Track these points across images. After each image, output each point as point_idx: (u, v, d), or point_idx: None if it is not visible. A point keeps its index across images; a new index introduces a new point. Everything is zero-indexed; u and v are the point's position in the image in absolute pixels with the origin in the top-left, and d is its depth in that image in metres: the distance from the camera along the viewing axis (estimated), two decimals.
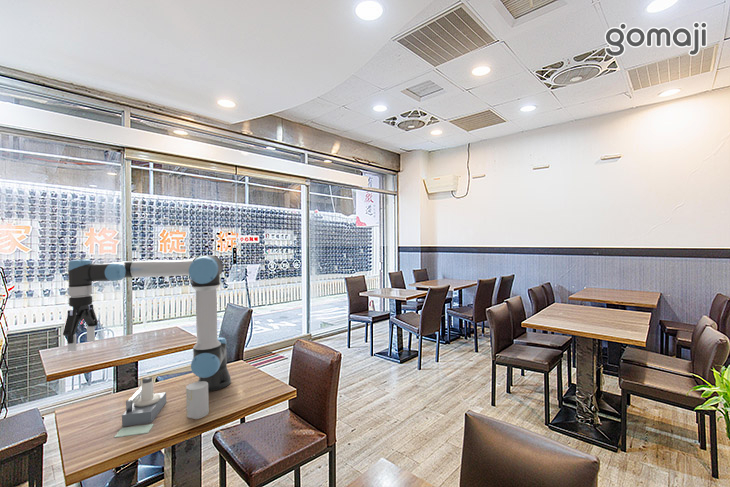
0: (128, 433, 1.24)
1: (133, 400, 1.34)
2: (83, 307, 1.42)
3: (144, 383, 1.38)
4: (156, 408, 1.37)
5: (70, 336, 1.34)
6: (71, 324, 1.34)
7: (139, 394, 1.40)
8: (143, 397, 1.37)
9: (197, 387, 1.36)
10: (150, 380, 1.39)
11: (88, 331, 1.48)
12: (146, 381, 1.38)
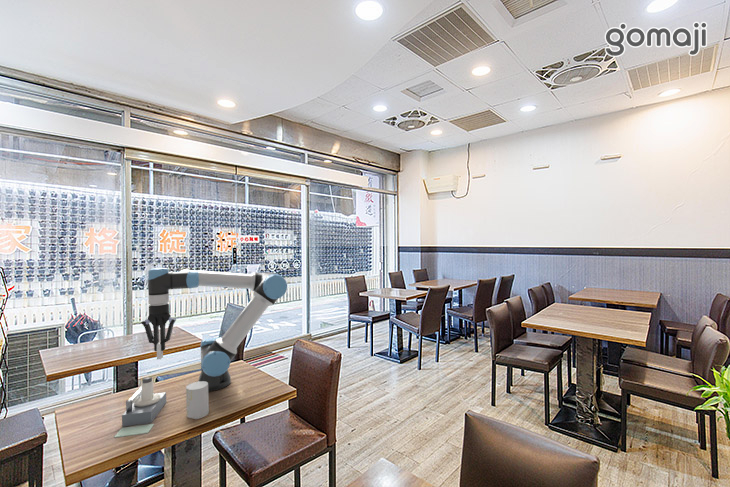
0: (128, 433, 1.24)
1: (133, 400, 1.34)
2: (157, 315, 1.44)
3: (144, 383, 1.38)
4: (156, 408, 1.37)
5: None
6: (147, 334, 1.43)
7: (139, 394, 1.40)
8: (143, 397, 1.37)
9: (196, 387, 1.36)
10: (150, 380, 1.39)
11: None
12: (146, 381, 1.38)
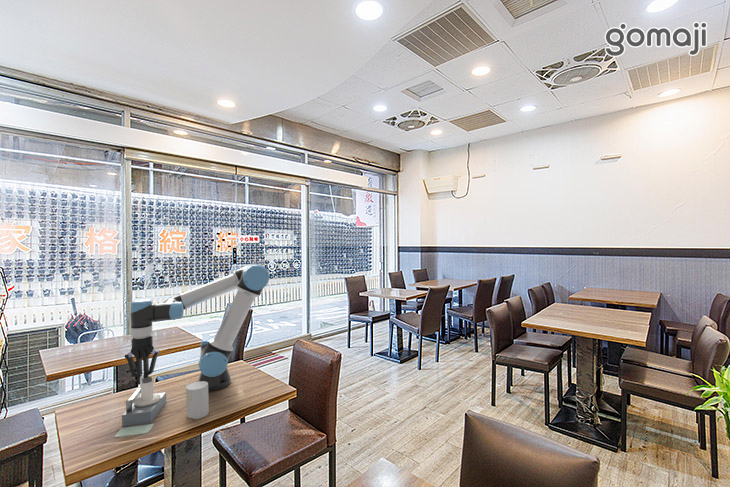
0: (128, 433, 1.24)
1: (133, 400, 1.34)
2: (140, 348, 1.42)
3: (144, 383, 1.38)
4: (156, 408, 1.37)
5: None
6: None
7: (138, 394, 1.40)
8: (143, 397, 1.37)
9: (196, 387, 1.36)
10: (150, 380, 1.39)
11: None
12: (146, 381, 1.38)
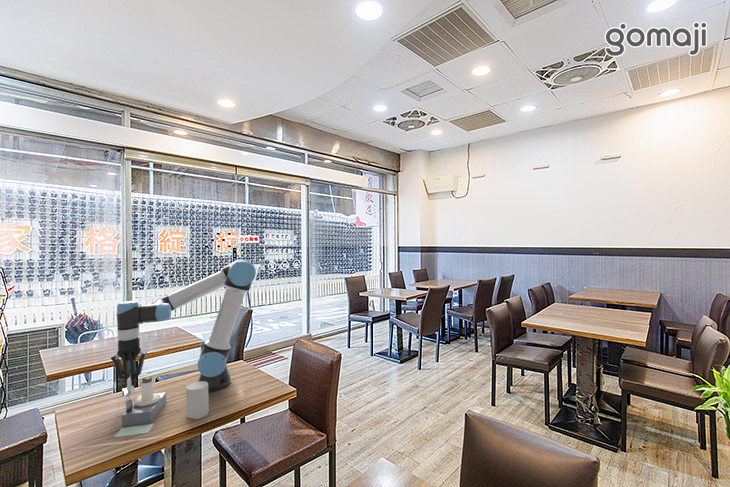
0: (128, 433, 1.24)
1: None
2: (126, 350, 1.41)
3: (144, 383, 1.38)
4: (156, 408, 1.37)
5: None
6: None
7: None
8: (143, 397, 1.37)
9: (197, 387, 1.36)
10: (150, 380, 1.39)
11: None
12: (146, 381, 1.38)
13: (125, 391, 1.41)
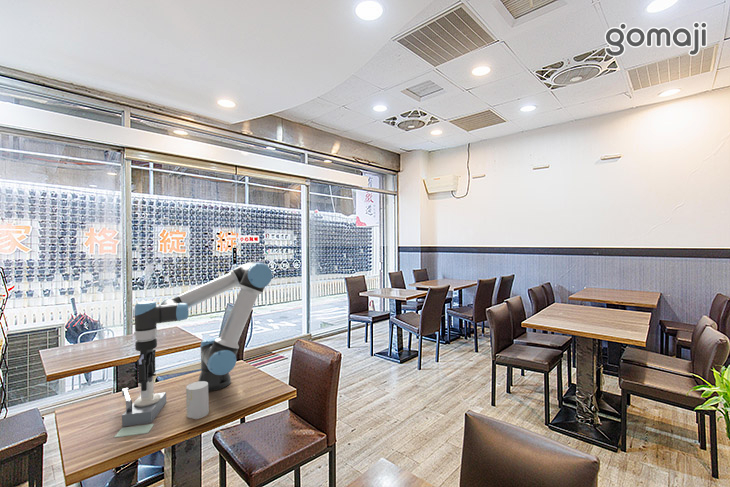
0: (128, 433, 1.24)
1: None
2: (149, 351, 1.39)
3: None
4: (156, 408, 1.37)
5: (144, 384, 1.36)
6: (143, 373, 1.34)
7: None
8: None
9: (196, 387, 1.36)
10: (150, 380, 1.39)
11: None
12: None
13: (125, 391, 1.41)
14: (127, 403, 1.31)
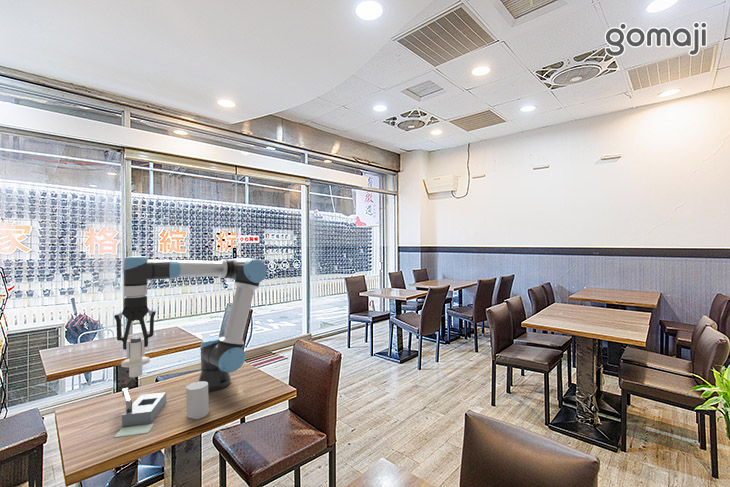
0: (128, 433, 1.24)
1: None
2: (134, 309, 1.29)
3: (130, 342, 1.29)
4: (156, 408, 1.37)
5: None
6: None
7: None
8: None
9: (197, 387, 1.36)
10: (133, 341, 1.28)
11: (142, 344, 1.31)
12: (130, 340, 1.29)
13: (125, 391, 1.41)
14: (127, 403, 1.31)
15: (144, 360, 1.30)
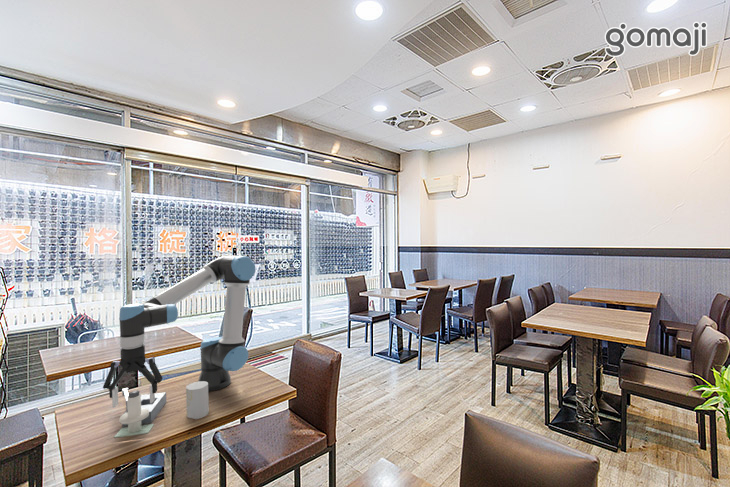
0: (128, 433, 1.24)
1: None
2: (130, 360, 1.25)
3: None
4: (156, 408, 1.37)
5: None
6: (107, 377, 1.23)
7: None
8: None
9: (196, 387, 1.36)
10: (130, 396, 1.24)
11: None
12: None
13: (125, 391, 1.41)
14: None
15: (141, 416, 1.25)
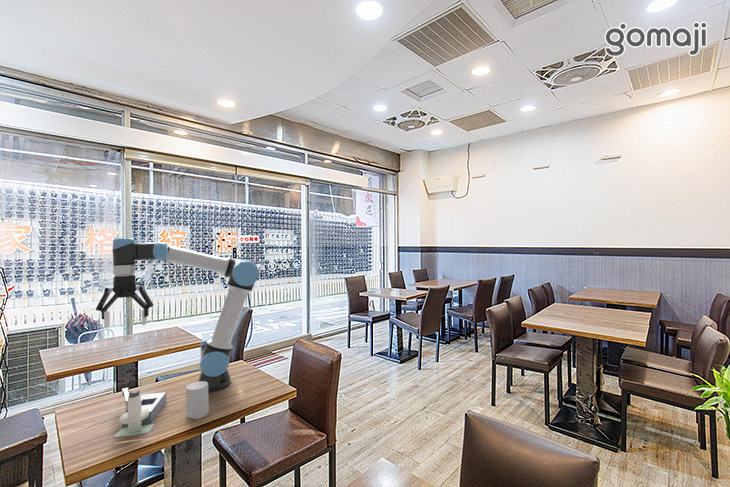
0: (128, 433, 1.24)
1: None
2: (122, 287, 1.39)
3: None
4: (156, 408, 1.37)
5: None
6: (100, 300, 1.37)
7: None
8: None
9: (196, 387, 1.36)
10: (130, 396, 1.24)
11: None
12: None
13: (125, 391, 1.41)
14: (127, 403, 1.31)
15: (141, 415, 1.25)
